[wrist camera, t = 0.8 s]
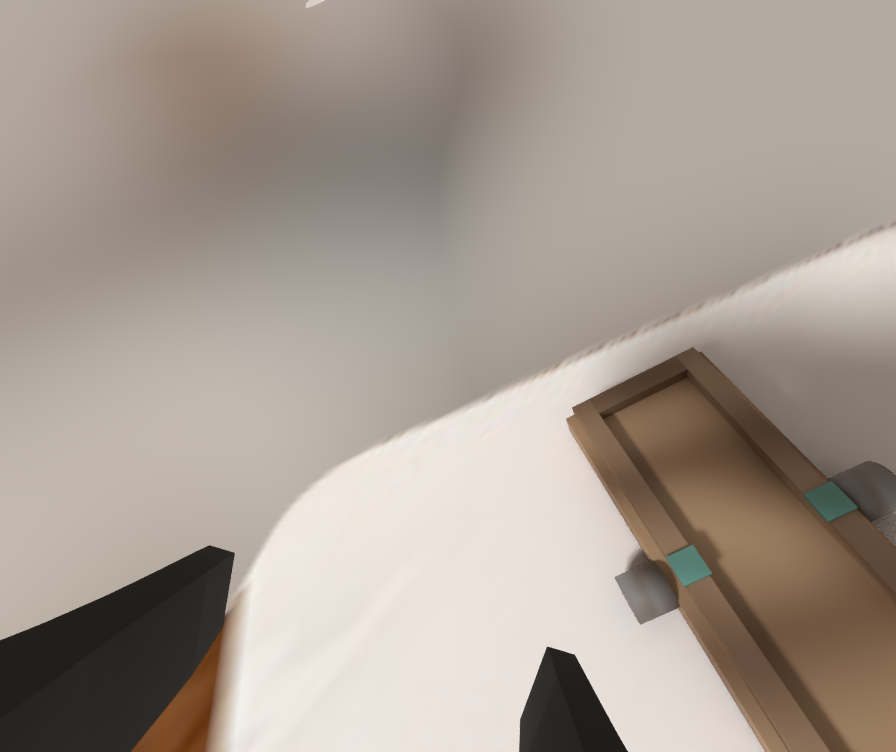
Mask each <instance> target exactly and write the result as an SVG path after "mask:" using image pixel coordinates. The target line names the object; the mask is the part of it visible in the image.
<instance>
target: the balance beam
mask: <svg viewBox="0 0 896 752" xmlns="http://www.w3.org/2000/svg"><path fill="white" fill-rule="evenodd" d="M572 409H573V412H574V415H573V416H571V417H569V418H567V419H566V420H567V423H568V426H569V429H570V432H571V433H572V435H573V437H574V438H575V440H576V441H577V443H578V445H579V446H580V448H581V450H582V451H583V453H584V455H585V456H586V458H587V460H588V461H589V463H590V464H591V466H592V468H593V469H594V471H595V473H596V474H597V476H598V478H599V479H600V481H601V483H602V484H603V486H604V487H605V489H606V491H607V492H608V494H609V496H610V497H611V499H612V501H613V502H614V504H615V505H616V507H617V509H618V510H619V512H620V514H621V515H622V517H623V519H624V520H625V522H626V524H627V525H628V527H629V528H630V530H631V532H632V533H633V535H634V537H635V538H636V540H637V542H638V543H639V545H640V547H641V548H642V550H643V551H644V553H645V555H646V556H647V558H648V560H649V562H647V563H644V564H642V565H640V566H638V567H636V568H634V569H631V570H629V571H627V572H625V573H623V574H620V575H618V576H616V577H615V579H616V581H617V583H618V585H619V587H620V589H621V591H622V593H623V595H624V596H625V598H626V600H627V602H628V604H629V606H630V608H631V609H632V611H633V613H634V615H635V617H636V618H637V620H638V622H639V623H640V625H641V624H643V623H645V622H647V621H650V620H652V619H654V618H656V617H659V616H661V615H663V614H665V613H668V612H670V611H672V610H674V609H677V608H678V609H679V611H680V612H681V614H682V615H683V617H684V619H685V620H686V622H687V624H688V625H689V627H690V629H691V630H692V632H693V634H694V635H695V637H696V638H697V640H698V642H699V643H700V645H701V647H702V648H703V650H704V652H705V653H706V655H707V656H708V658H709V660H710V661H711V663H712V665H713V666H714V668H715V670H716V671H717V673H718V675H719V676H720V678H721V679H722V681H723V683H724V684H725V686H726V688H727V689H728V691H729V693H730V694H731V696H732V698H733V699H734V701H735V702H736V704H737V706H738V707H739V709H740V711H741V712H742V714H743V716H744V717H745V719H746V720H747V722H748V724H749V725H750V727H751V729H752V730H753V732H754V734H755V735H756V737H757V739H758V740H759V742H760V743H761V745H762V747H763V748H764V750H765V752H896V547H895V546H894V545H893V544H892V543H891V542H890V541H889V540H888V539H887V538H886V537H885V536H884V535H883V534H882V533H881V532H880V531H879V530H878V529H877V528H876V527H875V526H874V525H873V524H872V523H871V521H873V520H876V519H878V518H880V517H882V516H885V515H887V514H889V513H891V512H894V511H896V475H894V474H893V473H892V472H891V471H890V470H888V469H887V468H885V467H884V466H882V465H880V464H878V463H875V462H871V461H867V462H864V463H862V464H860V465H858V466H856V467H854V468H851V469H849V470H847V471H845V472H843V473H840V474H838V475H836V476H834V477H832V478H830V479H827V478H826V477H825V476H824V475H823V474H822V473H821V472H820V471H819V470H818V469H817V468H816V467H815V466H814V465H813V464H812V463H811V462H810V461H809V460H808V459H807V458H806V457H805V456H804V455H803V454H802V453H801V452H800V451H799V450H798V449H797V448H796V447H795V446H794V445H793V444H792V443H791V442H790V441H789V440H788V439H787V438H786V437H785V436H784V435H783V434H782V433H781V432H780V431H779V430H778V429H777V428H776V427H775V426H774V425H773V424H772V423H771V422H770V421H769V420H768V419H767V418H766V417H765V416H764V415H763V414H762V413H761V412H760V411H759V410H758V408H757V407H756V406H755V405H754V404H753V403H752V402H751V401H750V400H749V399H748V398H747V397H746V396H745V395H744V394H743V393H742V392H741V391H740V390H739V389H738V388H737V387H736V386H735V385H734V384H733V383H732V382H731V381H730V380H729V379H728V378H727V377H726V376H725V375H724V374H723V373H722V372H721V371H720V370H719V369H718V368H717V367H716V366H715V365H714V364H713V363H712V362H711V361H710V360H709V359H708V358H707V357H706V356H705V355H704V354H703V353H702V352H700V353H698V352H697V351H696V350H695V349H694V348H691V349H689V350H687V351H685V352H683V353H681V354H679V355H677V356H675V357H673V358H671V359H669V360H667V361H665V362H663V363H661V364H659V365H657V366H655V367H653V368H651V369H649V370H647V371H645V372H643V373H641V374H639V375H637V376H635V377H633V378H631V379H629V380H627V381H625V382H623V383H621V384H618V385H616V386H614V387H612V388H610V389H608V390H606V391H604V392H602V393H600V394H598V395H596V396H594V397H592V398H590V399H588V400H586V401H584V402H582V403H580V404H578V405H576V406H574V407H572Z"/></svg>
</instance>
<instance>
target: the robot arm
mask: <svg viewBox="0 0 896 752" xmlns="http://www.w3.org/2000/svg"><path fill="white" fill-rule="evenodd" d="M233 560H234V553H233V552H229V551H227V550H223V549H220V548H217V547H213V546H210V545H209V546H207V547H205V548H203V549H201V550H199V551H196V552H194V553H192V554H190V555H188V556H186V557H184V558H182V559H180V560H178V561H176V562H174V563H172V564H170V565H168V566H166V567H164V568H163V569H161V570H158V571H156V572H154V573H152V574H150V575H148V576H146V577H144V578H142V579H140V580H138V581H136V582H134V583H132V584H130V585H127V586H125V587H123V588H121V589H119V590H117V591H115V592H113V593H111V594H109V595H106V596H104V597H102V598H100V599H98V600H95V601H93V602H91V603H88V604H86V605H84V606H81V607H79V608H77V609H75V610H72V611H70V612H68V613H66V614H63V615H61V616H59V617H56V618H54V619H52V620H50V621H48V622H45V623H43V624H40V625H38V626H35V627H33V628H30V629H28V630H26V631H23V632H20V633H18V634H15V635H13V636H10V637H8V638H5V639H2V640H0V752H131V751H132V750H133V748H134V747H135V746H136V745H137V743H138V742H139V741H140V740H141V738H142V737H143V736H144V735H145V733H146V732H147V731H148V730H149V728H150V727H151V726H152V725H153V723H154V722H155V721H156V720H157V719H158V717H159V716H160V715H161V714H162V712H163V711H164V710H165V709H166V707H167V706H168V705H169V703H170V702H171V701H172V700H173V698H174V697H175V696H176V695H177V693H178V692H179V691H180V690H181V688H182V687H183V686H184V685H185V683H186V682H187V681H188V679H189V678H190V677H191V676H192V674H193V673H194V671H195V670H196V668H197V667H198V665H199V664H200V662H201V661H202V659H203V658H204V656H205V655H206V653H207V652H208V650H209V648H210V647H211V645H212V644H213V642H214V640H215V639H216V637H217V636H218V634H219V632H220V631H221V629H222V628H223V621H224V615H225V609H226V603H227V597H228V591H229V584H230V579H231V573H232V567H233ZM519 752H628V751H627V749H626V748H625V746H624V744H623V743H622V741H621V739H620V737H619V736H618V734H617V732H616V730H615V728H614V727H613V725H612V723H611V721H610V719H609V717H608V716H607V714H606V712H605V710H604V708H603V706H602V705H601V703H600V701H599V699H598V697H597V695H596V693H595V692H594V690H593V688H592V686H591V684H590V682H589V680H588V678H587V677H586V675H585V673H584V671H583V669H582V667H581V666H580V664H579V662H578V660H577V658H576V656H575V655H574V654H570V653H567V652H564V651H560V650H557V649H554V648H550V647H547V648H546V651H545V654H544V656H543V659H542V662H541V665H540V667H539V670H538V673H537V675H536V678H535V681H534V684H533V686H532V689H531V692H530V695H529V697H528V700H527V703H526V705H525V708H524V711H523V714H522V716H521V719H520V746H519Z"/></svg>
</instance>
